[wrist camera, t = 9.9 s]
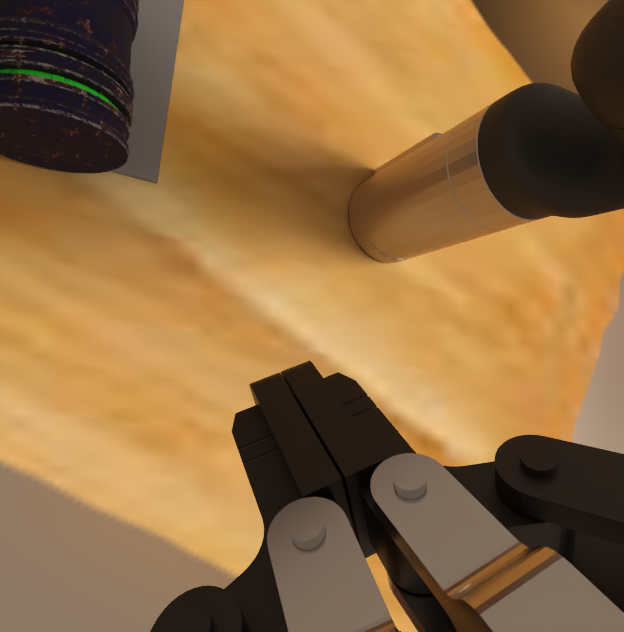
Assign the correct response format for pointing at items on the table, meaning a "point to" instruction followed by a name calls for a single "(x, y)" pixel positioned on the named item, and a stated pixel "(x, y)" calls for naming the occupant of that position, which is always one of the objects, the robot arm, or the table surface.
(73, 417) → the table surface
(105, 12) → the dark ribbed cylinder
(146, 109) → the mat
